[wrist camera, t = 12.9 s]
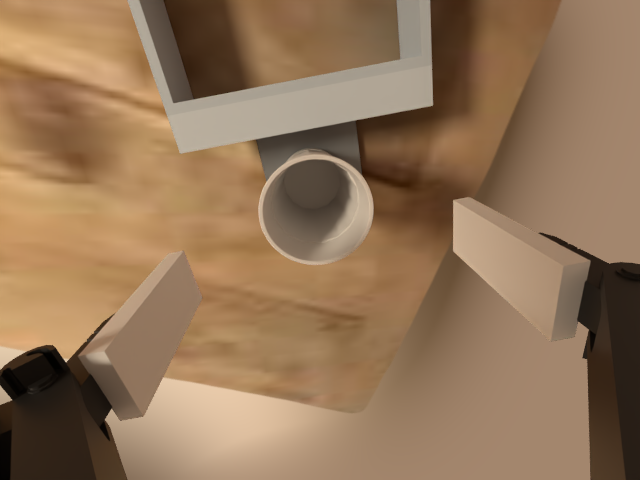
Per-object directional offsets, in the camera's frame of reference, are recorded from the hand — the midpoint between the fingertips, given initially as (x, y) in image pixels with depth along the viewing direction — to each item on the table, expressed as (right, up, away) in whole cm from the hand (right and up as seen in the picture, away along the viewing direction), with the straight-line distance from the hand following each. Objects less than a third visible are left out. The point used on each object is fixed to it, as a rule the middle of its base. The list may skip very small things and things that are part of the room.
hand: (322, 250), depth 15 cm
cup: (-1, +7, +17) cm, 19 cm away
